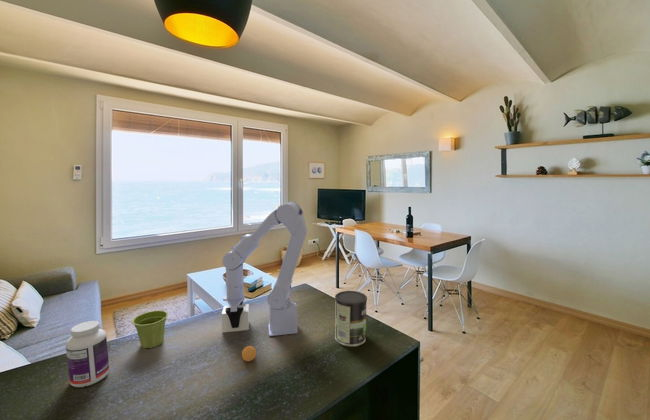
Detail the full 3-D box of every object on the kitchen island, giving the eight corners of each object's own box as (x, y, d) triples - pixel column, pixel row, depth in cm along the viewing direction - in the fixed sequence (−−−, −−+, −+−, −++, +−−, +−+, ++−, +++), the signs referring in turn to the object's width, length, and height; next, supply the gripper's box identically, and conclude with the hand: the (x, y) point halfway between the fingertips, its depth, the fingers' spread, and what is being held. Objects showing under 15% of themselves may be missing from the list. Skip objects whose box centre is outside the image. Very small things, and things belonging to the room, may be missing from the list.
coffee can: (366, 331, 99) (367, 291, 97) (365, 348, 89) (366, 304, 87) (337, 328, 101) (337, 289, 99) (332, 344, 91) (332, 301, 89)
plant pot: (142, 356, 84) (140, 328, 83) (129, 345, 90) (127, 318, 89) (174, 342, 92) (173, 316, 91) (161, 332, 97) (159, 307, 96)
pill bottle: (104, 364, 81) (100, 315, 79) (113, 376, 76) (109, 324, 74) (66, 379, 74) (61, 326, 73) (73, 394, 69) (67, 338, 68)
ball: (256, 354, 85) (256, 342, 85) (256, 363, 81) (256, 350, 81) (242, 356, 84) (242, 343, 84) (241, 365, 80) (241, 351, 80)
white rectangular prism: (249, 321, 105) (248, 304, 104) (248, 329, 99) (248, 311, 98) (224, 323, 103) (223, 306, 102) (222, 332, 97) (221, 314, 96)
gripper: (225, 278, 106) (226, 313, 107) (220, 293, 91) (221, 334, 93) (245, 276, 107) (246, 311, 109) (243, 292, 93) (244, 331, 95)
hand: (236, 322), depth 101 cm, fingers open, 7 cm apart
